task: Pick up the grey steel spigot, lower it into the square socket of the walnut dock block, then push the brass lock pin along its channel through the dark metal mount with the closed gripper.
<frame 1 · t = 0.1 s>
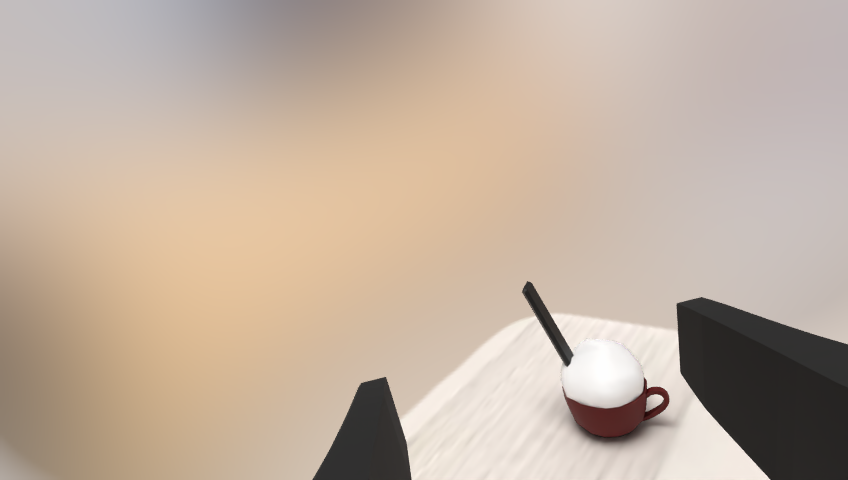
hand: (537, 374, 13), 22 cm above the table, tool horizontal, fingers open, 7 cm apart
cocoa: (605, 421, 42), on the table
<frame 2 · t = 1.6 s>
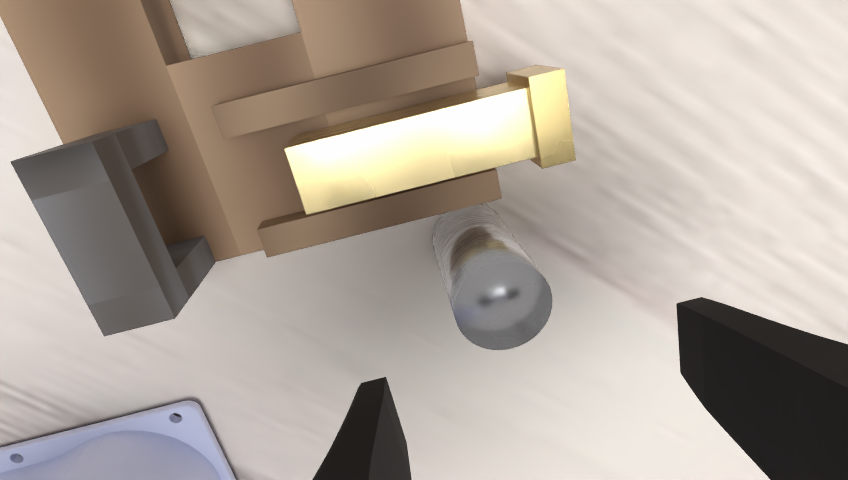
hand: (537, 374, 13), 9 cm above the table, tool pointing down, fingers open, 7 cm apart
spigot: (469, 238, 21), on the table
lock pin: (427, 142, 16), point 4 cm above the table, slide at 0.0 cm
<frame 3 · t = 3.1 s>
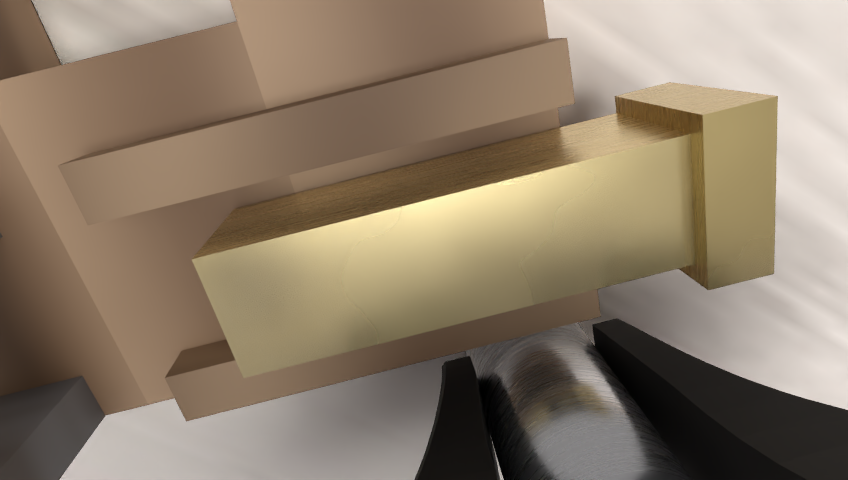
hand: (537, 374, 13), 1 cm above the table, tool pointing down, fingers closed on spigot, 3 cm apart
spigot: (521, 342, 14), on the table, touching gripper
lock pin: (477, 230, 8), point 4 cm above the table, slide at 0.0 cm
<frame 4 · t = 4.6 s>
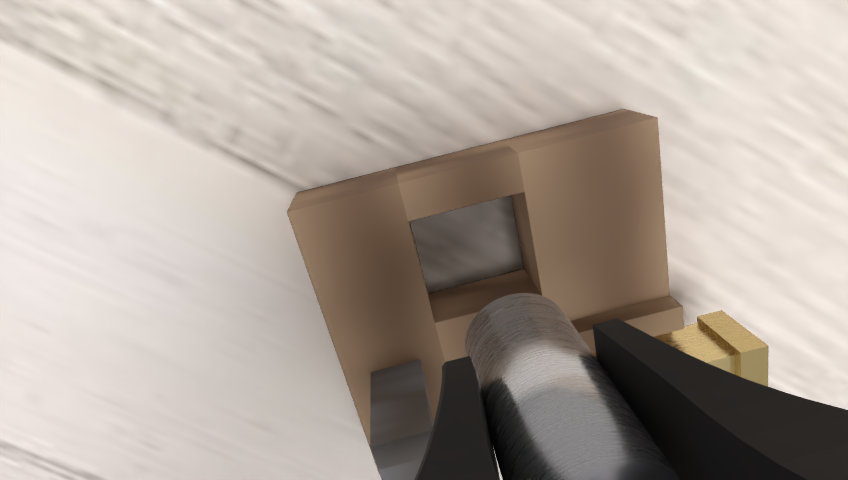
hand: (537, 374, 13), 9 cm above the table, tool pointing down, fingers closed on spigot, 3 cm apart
dock: (466, 236, 21), on the table
spigot: (517, 340, 15), point 7 cm above the table, touching gripper
lock pin: (642, 381, 20), point 4 cm above the table, slide at 0.0 cm
when the fingers open (3 cm above the table, at t = 6.1 s): spigot drops 1 cm, resting in dock.
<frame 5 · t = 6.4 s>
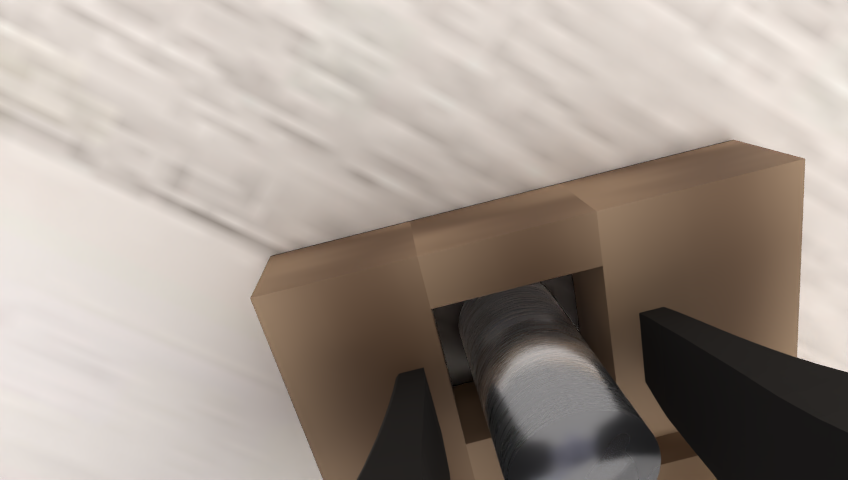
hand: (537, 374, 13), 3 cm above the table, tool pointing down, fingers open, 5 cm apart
dock: (506, 312, 15), on the table
spigot: (508, 321, 16), resting in dock
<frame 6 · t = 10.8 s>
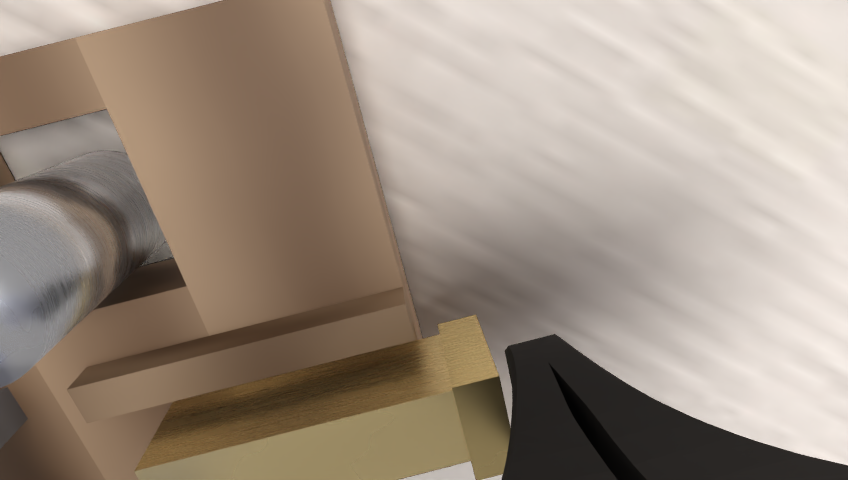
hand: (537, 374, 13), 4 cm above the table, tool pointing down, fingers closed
dock: (110, 195, 14), on the table
spigot: (116, 206, 14), resting in dock
lock pin: (333, 428, 12), point 4 cm above the table, slide at 0.4 cm, touching gripper
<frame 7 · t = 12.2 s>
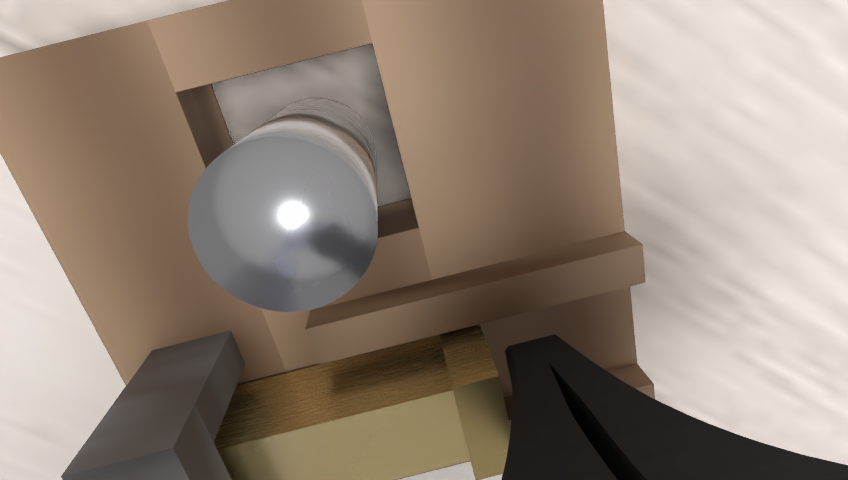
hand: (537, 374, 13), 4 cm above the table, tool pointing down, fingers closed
dock: (316, 144, 14), on the table
spigot: (320, 155, 14), resting in dock
lock pin: (333, 428, 12), point 4 cm above the table, slide at 6.0 cm, touching gripper
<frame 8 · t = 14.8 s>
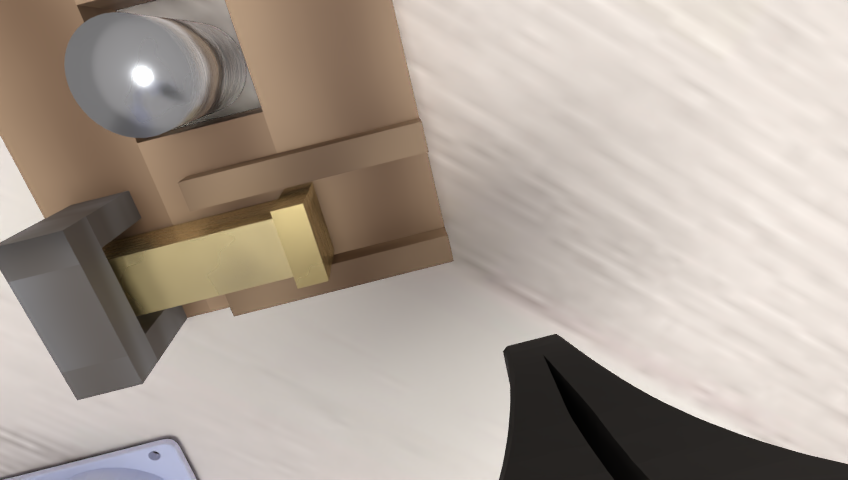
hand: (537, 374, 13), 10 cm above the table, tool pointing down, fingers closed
dock: (199, 58, 18), on the table
spigot: (202, 67, 19), resting in dock
lock pin: (201, 259, 17), point 4 cm above the table, slide at 6.0 cm
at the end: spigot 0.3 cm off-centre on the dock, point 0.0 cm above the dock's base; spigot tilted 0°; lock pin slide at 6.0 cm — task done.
